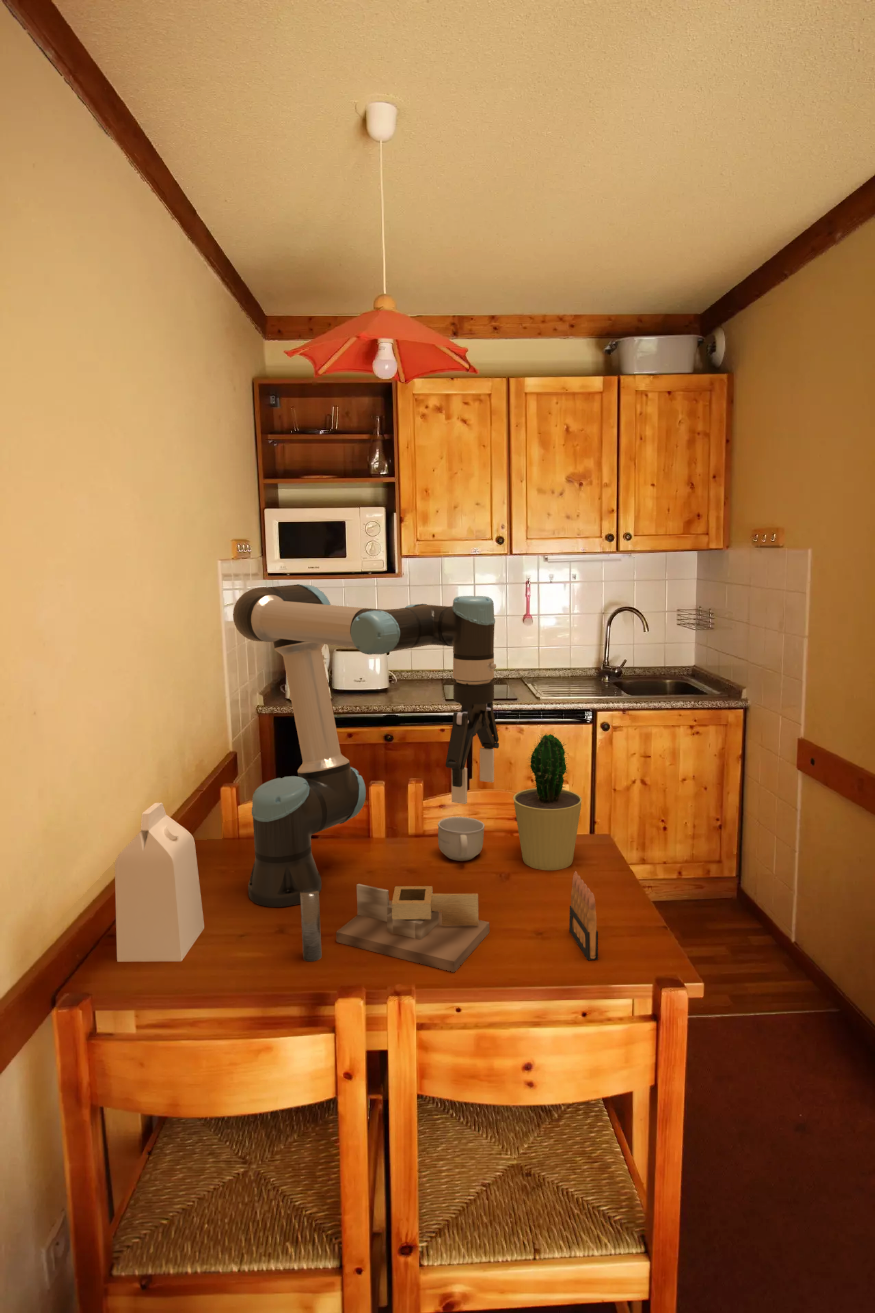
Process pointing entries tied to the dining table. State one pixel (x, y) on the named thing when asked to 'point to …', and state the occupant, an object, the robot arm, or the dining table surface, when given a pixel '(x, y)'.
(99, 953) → the dining table surface
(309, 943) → the hinge pin
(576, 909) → the ammunition clip
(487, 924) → the hinge base
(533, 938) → the dining table surface
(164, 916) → the milk
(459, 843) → the teacup
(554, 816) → the potted cactus
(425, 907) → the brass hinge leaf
